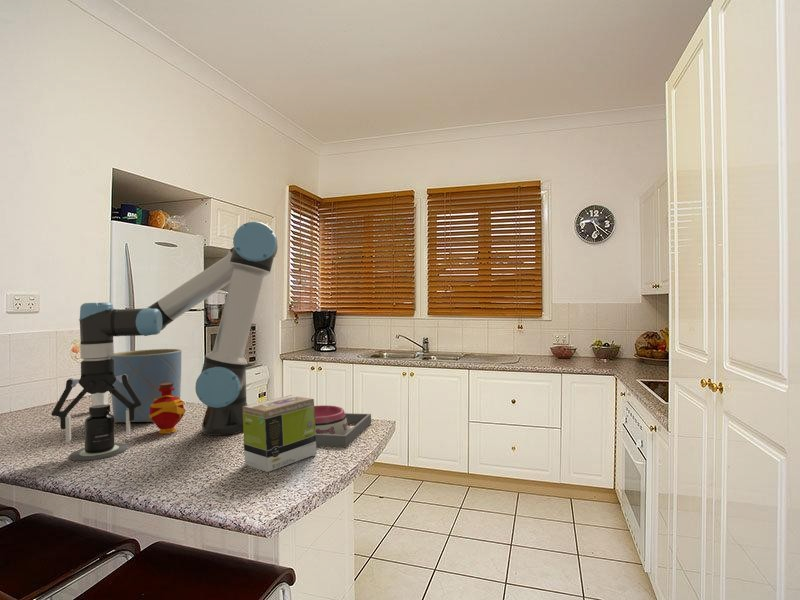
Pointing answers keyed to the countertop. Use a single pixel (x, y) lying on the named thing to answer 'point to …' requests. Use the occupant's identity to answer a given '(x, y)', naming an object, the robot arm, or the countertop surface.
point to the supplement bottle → (99, 430)
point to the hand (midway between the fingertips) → (99, 436)
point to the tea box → (279, 432)
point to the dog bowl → (330, 420)
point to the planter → (145, 379)
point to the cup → (99, 398)
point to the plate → (83, 456)
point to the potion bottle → (166, 409)
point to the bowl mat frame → (346, 439)
